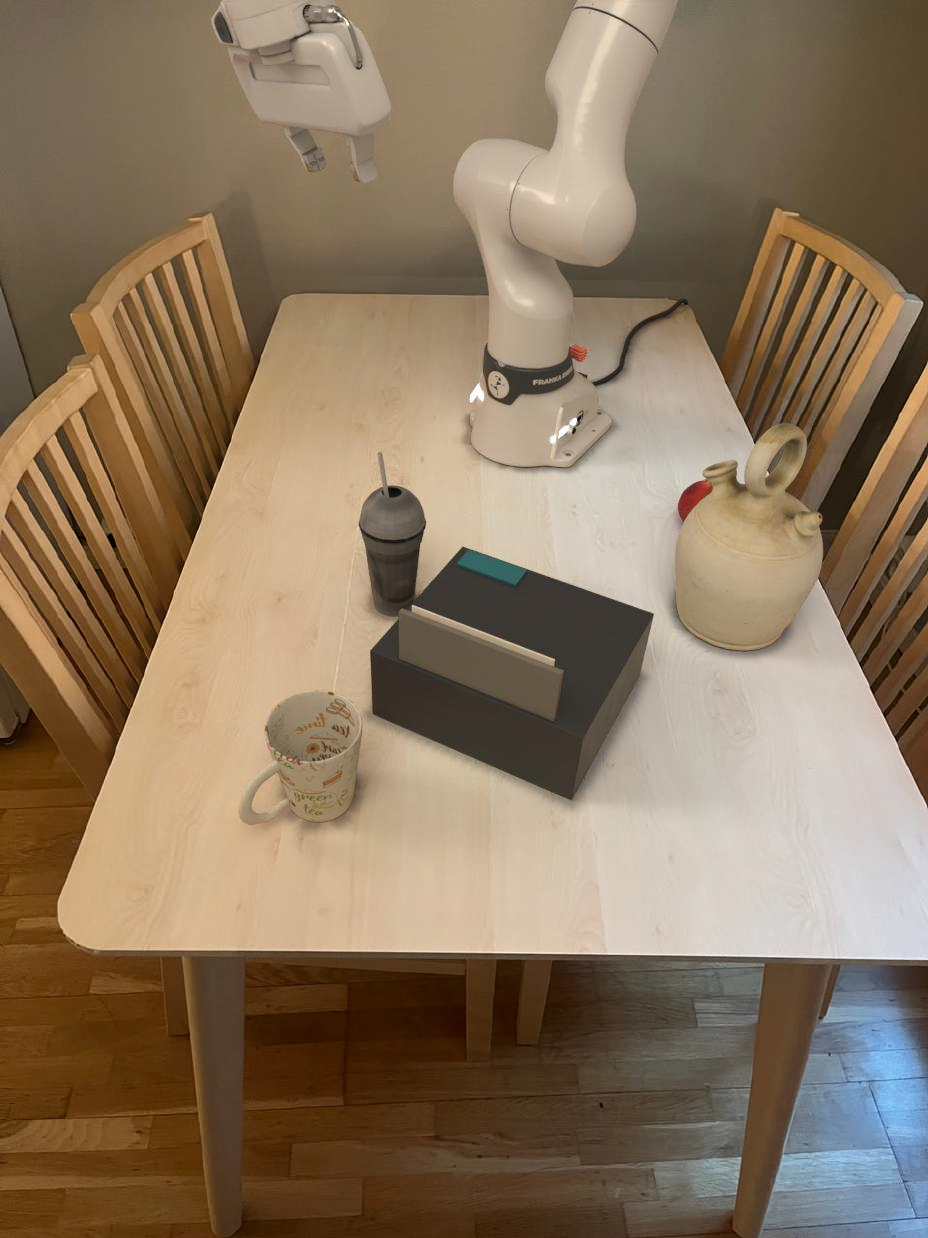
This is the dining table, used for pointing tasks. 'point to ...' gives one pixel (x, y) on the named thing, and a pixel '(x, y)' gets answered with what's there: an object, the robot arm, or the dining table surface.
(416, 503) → the beverage cup
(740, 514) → the jug
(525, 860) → the dining table surface
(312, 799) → the mug
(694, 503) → the red pomegranate
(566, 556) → the dining table surface
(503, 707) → the printer
